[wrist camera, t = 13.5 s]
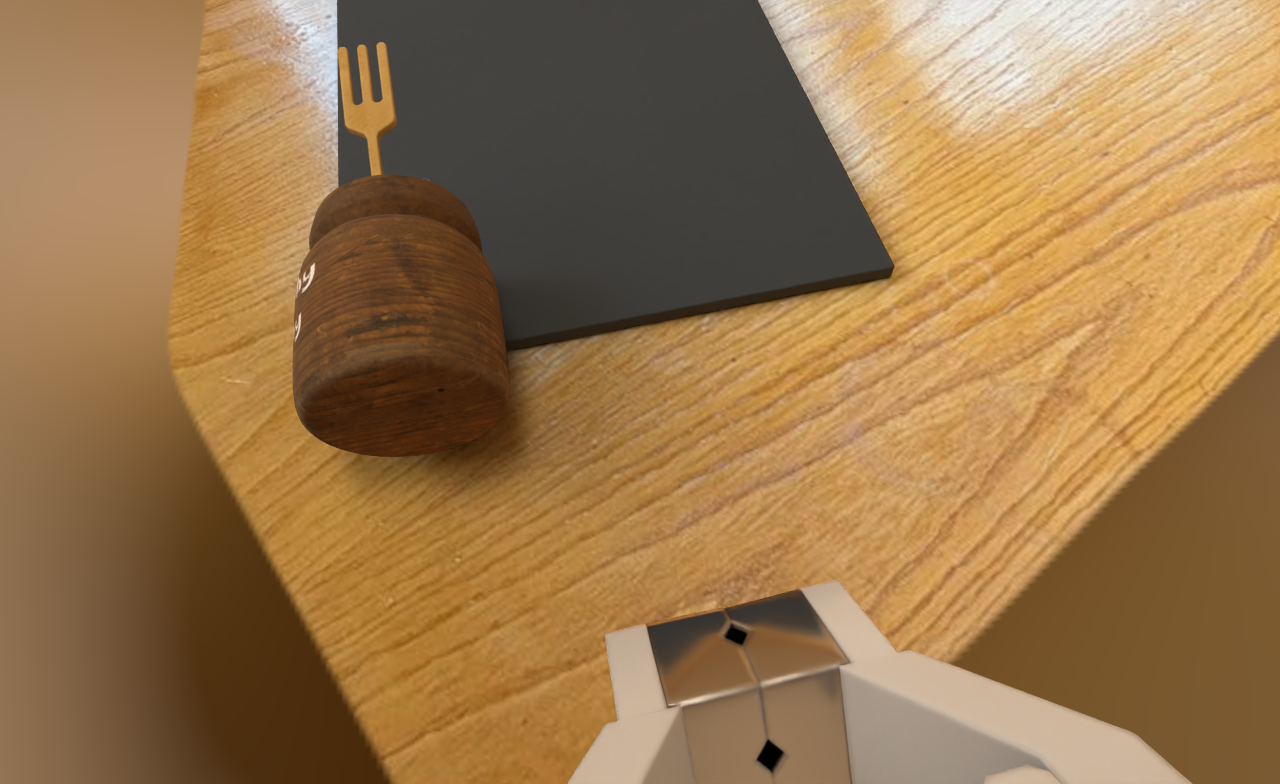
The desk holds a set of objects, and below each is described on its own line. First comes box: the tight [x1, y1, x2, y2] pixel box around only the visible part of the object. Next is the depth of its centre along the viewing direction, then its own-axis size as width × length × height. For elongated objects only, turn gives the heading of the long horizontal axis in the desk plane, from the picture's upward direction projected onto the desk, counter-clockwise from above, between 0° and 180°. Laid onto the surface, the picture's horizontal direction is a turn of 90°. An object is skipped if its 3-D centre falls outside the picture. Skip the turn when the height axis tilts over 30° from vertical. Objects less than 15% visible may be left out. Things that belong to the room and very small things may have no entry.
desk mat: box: [337, 0, 894, 351], centre depth 34 cm, size 20×36×1 cm, turn 12°
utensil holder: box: [293, 42, 509, 457], centre depth 23 cm, size 6×6×12 cm
